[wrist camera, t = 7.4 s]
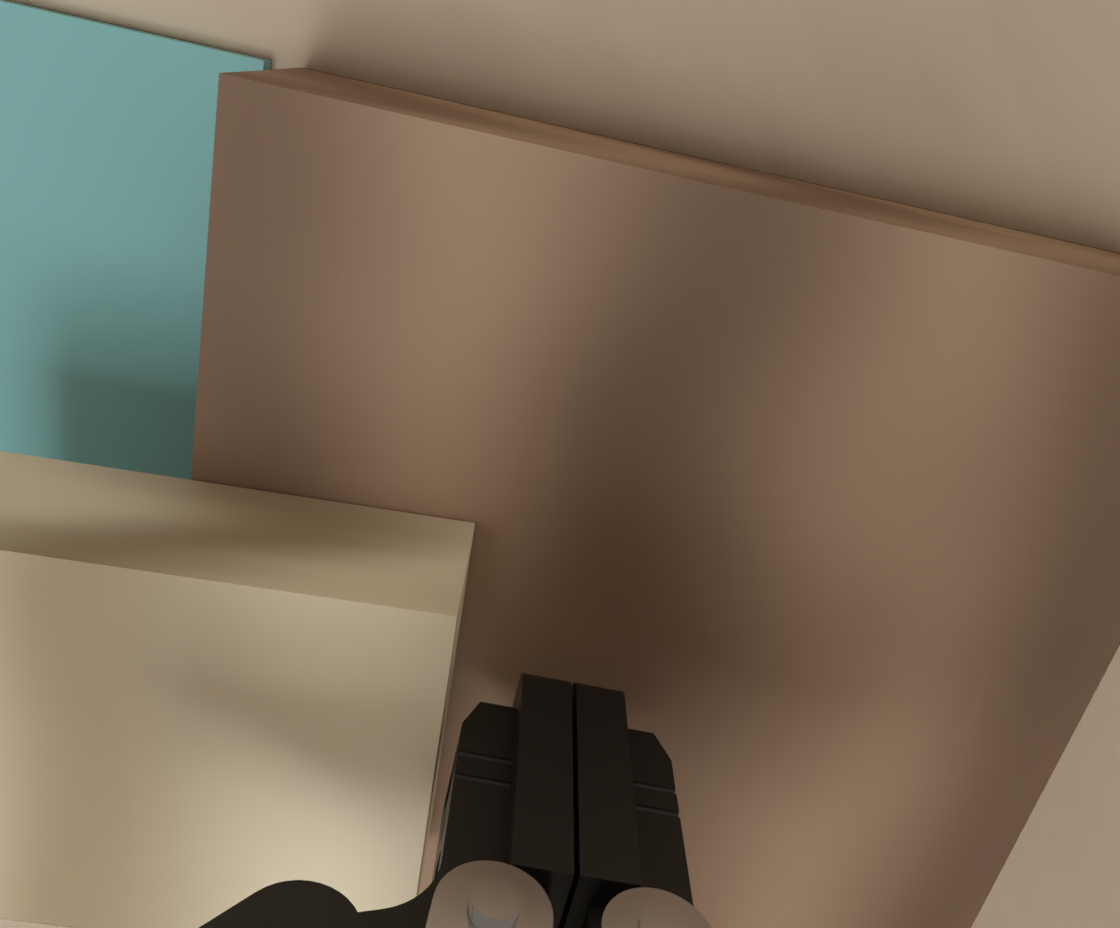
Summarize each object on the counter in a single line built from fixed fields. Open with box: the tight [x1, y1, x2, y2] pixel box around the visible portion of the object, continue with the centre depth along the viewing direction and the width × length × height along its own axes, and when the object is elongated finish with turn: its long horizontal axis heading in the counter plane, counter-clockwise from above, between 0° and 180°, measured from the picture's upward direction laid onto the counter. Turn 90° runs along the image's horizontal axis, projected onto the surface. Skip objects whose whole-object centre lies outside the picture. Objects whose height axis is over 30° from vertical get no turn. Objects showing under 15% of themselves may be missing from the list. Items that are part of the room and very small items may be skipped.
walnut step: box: [191, 68, 1120, 928], centre depth 17 cm, size 14×16×4 cm
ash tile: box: [0, 451, 475, 928], centre depth 14 cm, size 8×6×2 cm
